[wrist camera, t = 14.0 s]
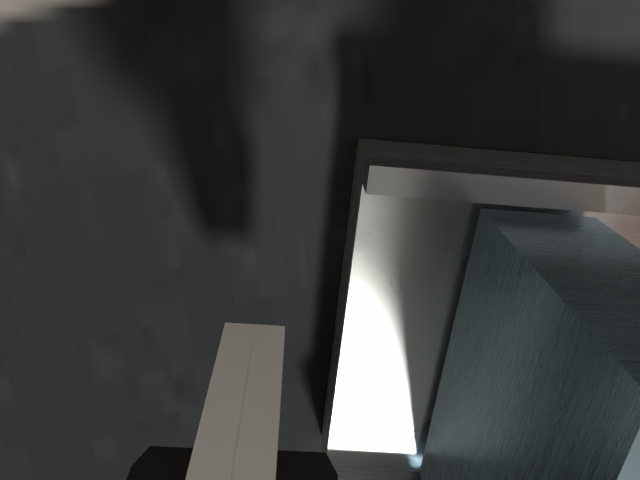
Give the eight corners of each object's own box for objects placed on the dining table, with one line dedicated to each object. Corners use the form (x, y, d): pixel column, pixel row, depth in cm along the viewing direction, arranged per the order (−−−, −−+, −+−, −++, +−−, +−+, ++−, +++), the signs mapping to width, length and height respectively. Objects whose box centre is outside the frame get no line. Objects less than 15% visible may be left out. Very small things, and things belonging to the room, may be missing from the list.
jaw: (419, 470, 17) (492, 758, 10) (480, 208, 13) (652, 400, 7) (510, 474, 17) (638, 760, 10) (594, 217, 13) (870, 412, 7)
